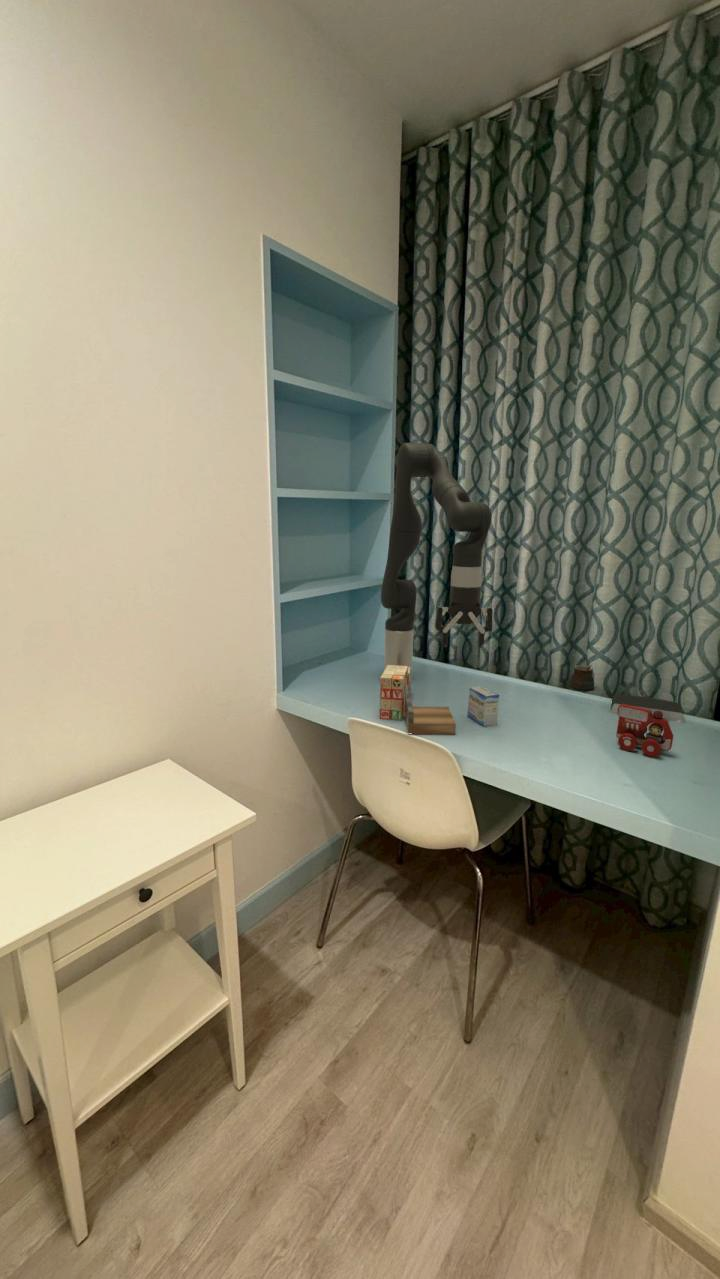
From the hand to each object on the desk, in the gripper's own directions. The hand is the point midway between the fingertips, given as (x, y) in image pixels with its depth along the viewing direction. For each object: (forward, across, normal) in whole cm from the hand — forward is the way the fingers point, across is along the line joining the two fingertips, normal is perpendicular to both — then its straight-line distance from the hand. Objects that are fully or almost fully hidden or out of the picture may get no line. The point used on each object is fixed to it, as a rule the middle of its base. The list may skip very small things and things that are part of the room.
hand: (462, 646), depth 138 cm
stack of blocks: (+22, +16, -13) cm, 30 cm away
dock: (+22, +8, +1) cm, 23 cm away
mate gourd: (+22, -44, -30) cm, 58 cm away
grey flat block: (+22, -55, -12) cm, 60 cm away
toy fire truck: (+22, -42, +12) cm, 49 cm away
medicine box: (+22, -7, -4) cm, 23 cm away
